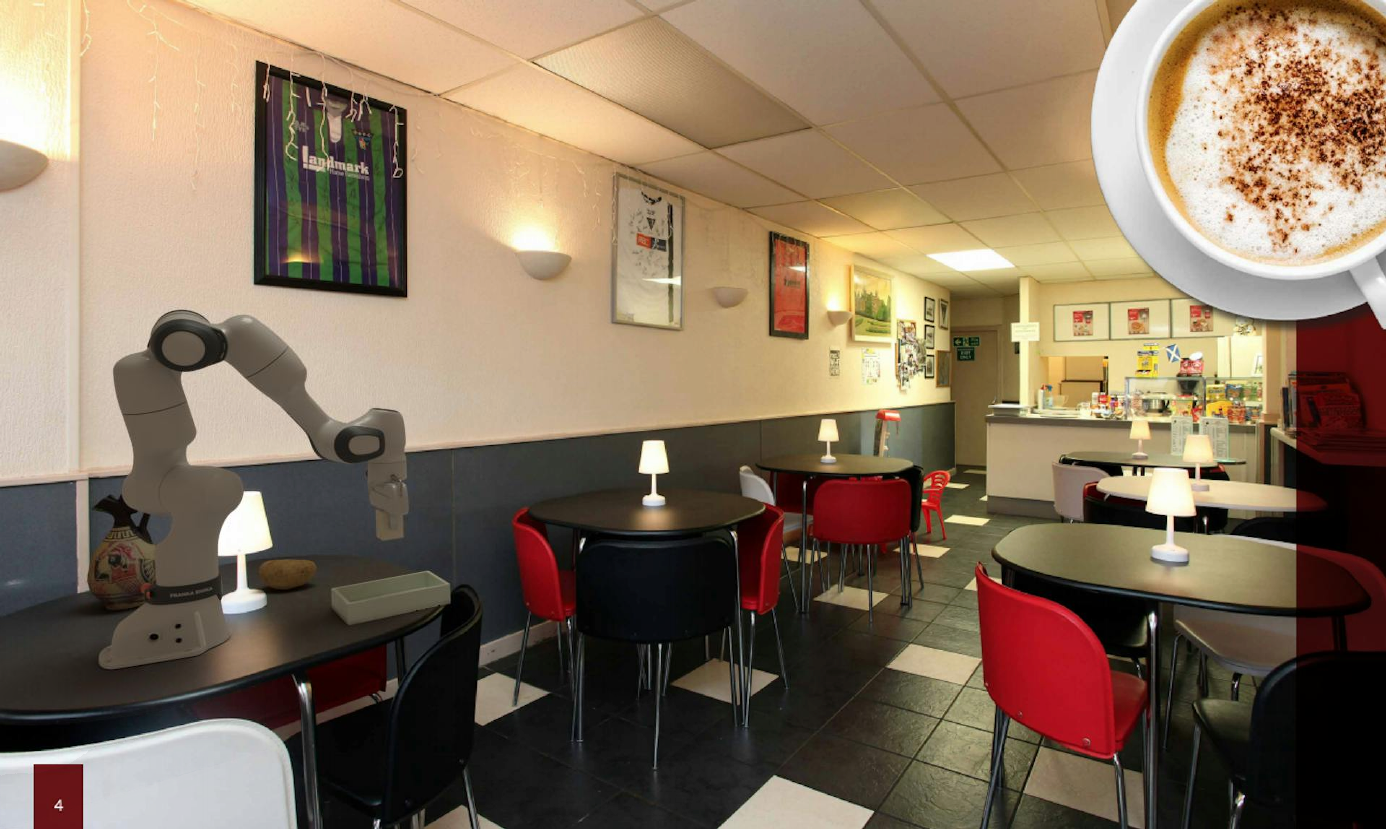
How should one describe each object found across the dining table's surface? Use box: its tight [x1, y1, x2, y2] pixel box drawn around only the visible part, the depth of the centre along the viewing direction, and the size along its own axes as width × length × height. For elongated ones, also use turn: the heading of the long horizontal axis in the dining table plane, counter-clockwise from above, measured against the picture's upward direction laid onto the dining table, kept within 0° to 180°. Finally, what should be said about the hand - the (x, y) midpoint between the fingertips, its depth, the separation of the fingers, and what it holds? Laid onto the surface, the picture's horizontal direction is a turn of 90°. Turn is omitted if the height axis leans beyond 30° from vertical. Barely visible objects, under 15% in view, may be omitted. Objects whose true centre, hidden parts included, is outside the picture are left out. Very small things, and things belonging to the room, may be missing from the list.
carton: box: [375, 508, 405, 541], centre depth 175 cm, size 5×5×7 cm
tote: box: [330, 570, 452, 627], centre depth 176 cm, size 24×16×5 cm, turn 130°
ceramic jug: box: [86, 493, 157, 611], centre depth 177 cm, size 17×15×30 cm
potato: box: [257, 558, 317, 591], centre depth 190 cm, size 10×14×8 cm
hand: (389, 527), depth 175 cm, fingers closed on carton, 5 cm apart
